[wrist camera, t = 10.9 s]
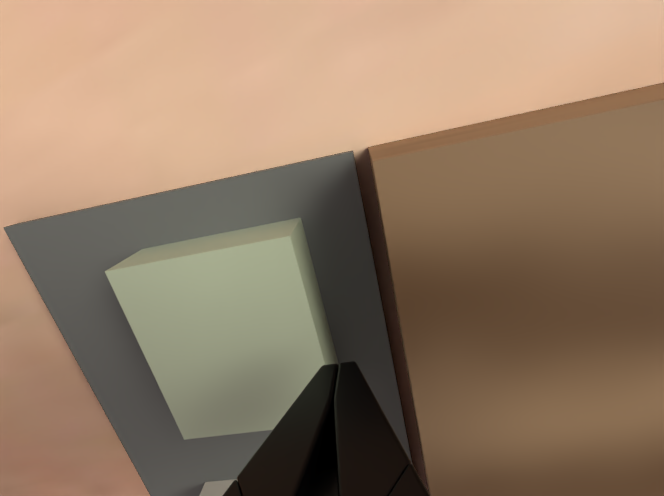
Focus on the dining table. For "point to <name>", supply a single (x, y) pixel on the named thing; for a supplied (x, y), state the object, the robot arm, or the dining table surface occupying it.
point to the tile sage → (228, 325)
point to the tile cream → (215, 488)
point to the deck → (533, 297)
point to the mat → (189, 223)
